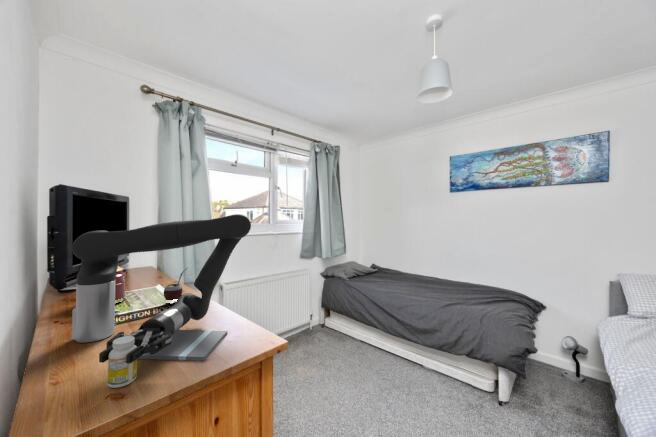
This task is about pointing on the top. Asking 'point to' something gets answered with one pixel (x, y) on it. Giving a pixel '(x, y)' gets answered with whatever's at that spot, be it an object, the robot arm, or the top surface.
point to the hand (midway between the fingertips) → (114, 358)
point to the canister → (119, 284)
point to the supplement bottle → (121, 363)
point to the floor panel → (189, 345)
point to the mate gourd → (173, 290)
